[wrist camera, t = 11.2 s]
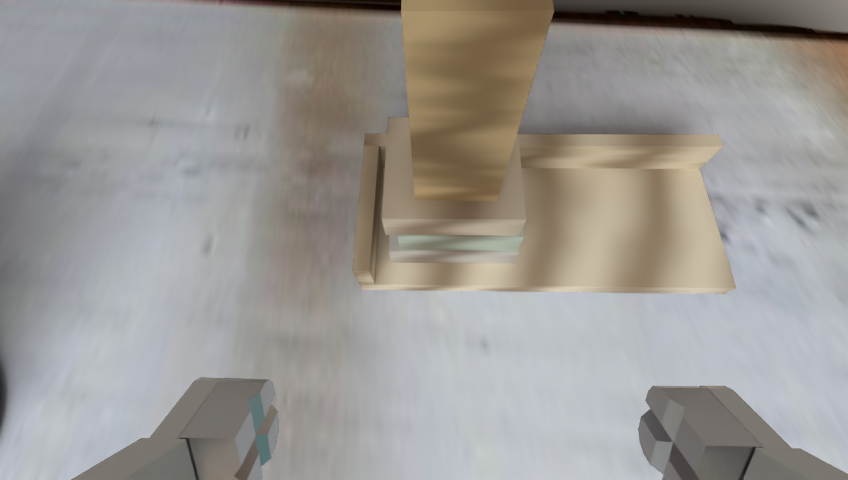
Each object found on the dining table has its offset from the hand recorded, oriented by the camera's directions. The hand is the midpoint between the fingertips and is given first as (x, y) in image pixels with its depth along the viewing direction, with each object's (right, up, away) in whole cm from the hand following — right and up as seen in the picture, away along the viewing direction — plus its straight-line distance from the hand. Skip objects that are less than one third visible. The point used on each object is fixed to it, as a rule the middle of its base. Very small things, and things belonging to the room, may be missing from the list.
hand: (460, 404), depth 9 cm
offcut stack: (+1, +5, +19) cm, 20 cm away
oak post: (+1, +8, +14) cm, 16 cm away
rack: (+7, +5, +20) cm, 22 cm away
